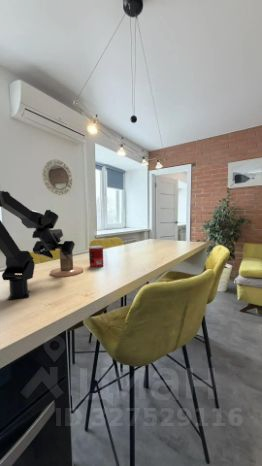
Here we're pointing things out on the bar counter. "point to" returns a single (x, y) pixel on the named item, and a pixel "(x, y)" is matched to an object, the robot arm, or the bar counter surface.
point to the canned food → (96, 256)
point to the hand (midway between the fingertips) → (61, 257)
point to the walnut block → (66, 262)
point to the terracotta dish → (66, 272)
